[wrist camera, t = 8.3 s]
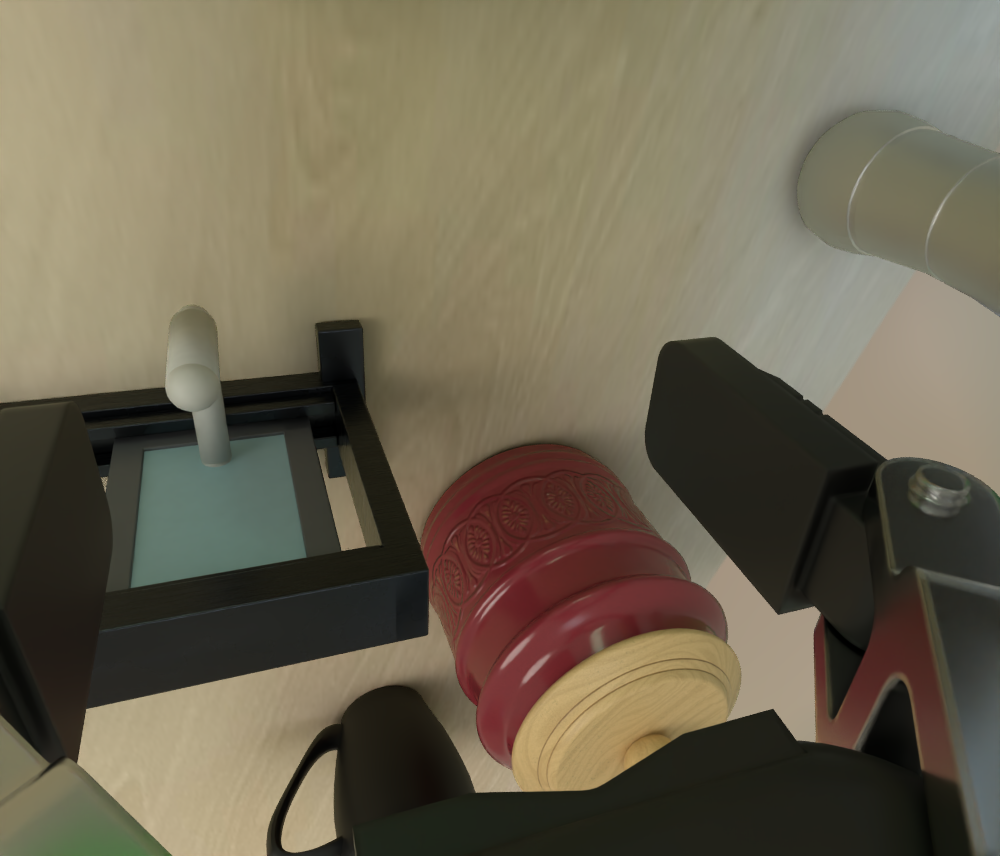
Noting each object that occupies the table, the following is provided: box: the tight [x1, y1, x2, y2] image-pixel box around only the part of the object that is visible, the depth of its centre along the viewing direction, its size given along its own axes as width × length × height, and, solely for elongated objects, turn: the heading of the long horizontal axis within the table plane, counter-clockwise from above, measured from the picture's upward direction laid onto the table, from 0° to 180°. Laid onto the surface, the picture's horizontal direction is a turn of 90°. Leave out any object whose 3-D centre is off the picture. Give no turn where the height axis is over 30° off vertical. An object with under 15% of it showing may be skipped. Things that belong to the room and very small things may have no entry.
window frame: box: [0, 320, 429, 709], centre depth 27 cm, size 19×8×14 cm, turn 87°
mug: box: [266, 686, 475, 856], centre depth 44 cm, size 8×12×10 cm
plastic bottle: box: [797, 111, 1000, 316], centre depth 31 cm, size 6×7×20 cm
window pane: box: [105, 305, 341, 592], centre depth 26 cm, size 8×7×11 cm
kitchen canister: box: [421, 444, 741, 792], centre depth 37 cm, size 13×13×18 cm
